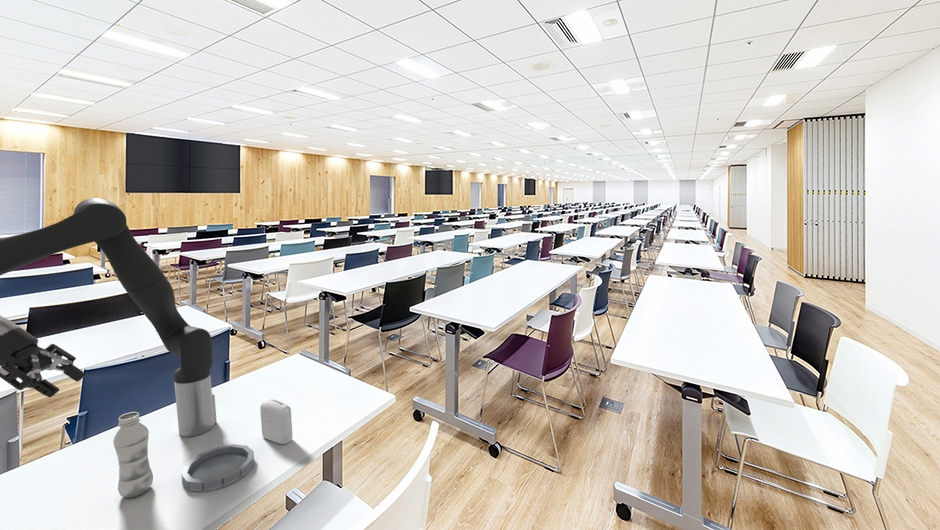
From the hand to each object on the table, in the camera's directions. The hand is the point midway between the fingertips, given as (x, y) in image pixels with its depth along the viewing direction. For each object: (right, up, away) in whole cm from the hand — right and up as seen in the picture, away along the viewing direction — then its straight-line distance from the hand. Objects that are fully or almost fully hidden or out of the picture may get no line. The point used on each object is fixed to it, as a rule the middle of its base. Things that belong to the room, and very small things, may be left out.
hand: (69, 385), depth 89 cm
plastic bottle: (+10, -28, +7) cm, 31 cm away
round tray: (+25, -27, +15) cm, 40 cm away
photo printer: (+33, -26, +30) cm, 51 cm away
